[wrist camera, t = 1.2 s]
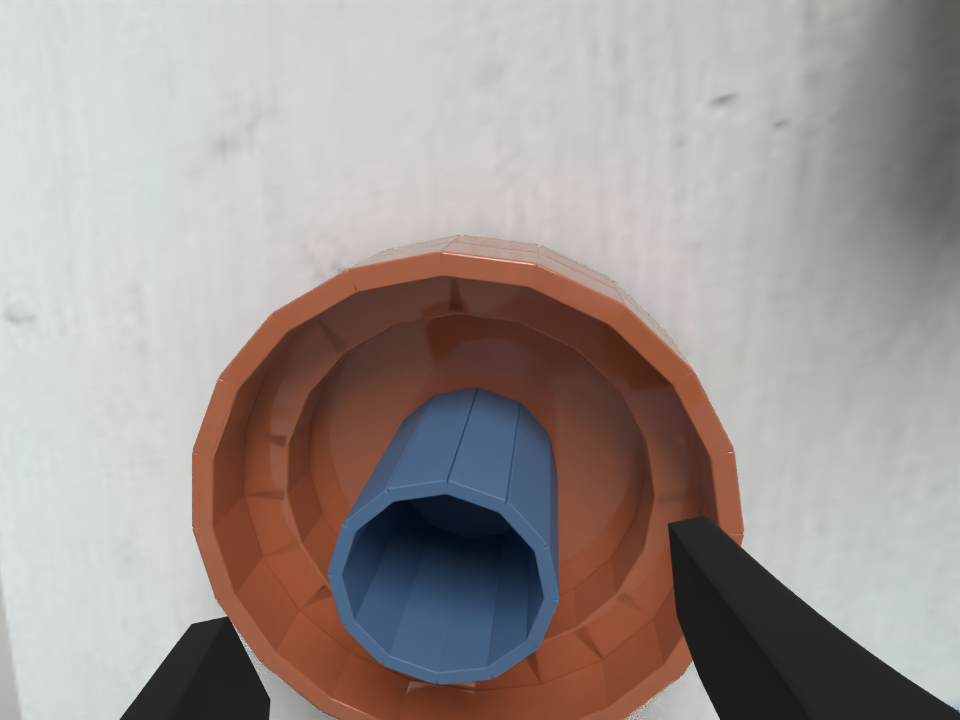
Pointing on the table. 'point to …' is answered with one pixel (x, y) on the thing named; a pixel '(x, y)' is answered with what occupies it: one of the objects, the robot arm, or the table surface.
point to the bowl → (376, 418)
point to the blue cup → (453, 542)
